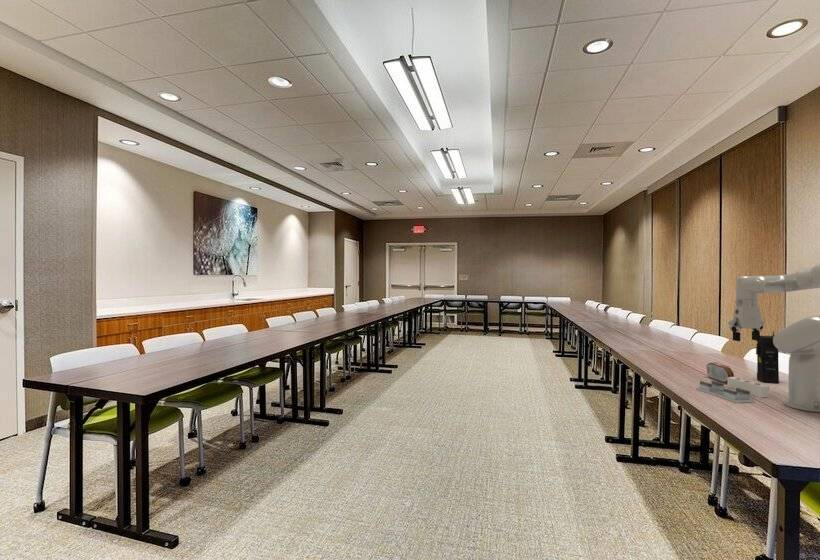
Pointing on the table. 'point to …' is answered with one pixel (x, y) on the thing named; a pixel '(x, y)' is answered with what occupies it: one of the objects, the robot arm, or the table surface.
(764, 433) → the table surface
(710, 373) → the tin
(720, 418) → the table surface
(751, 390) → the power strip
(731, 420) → the table surface
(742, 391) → the cradle rack
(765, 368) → the portable radio
